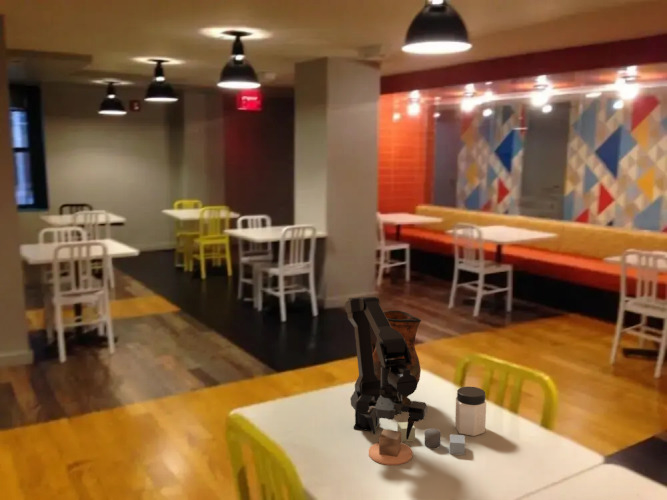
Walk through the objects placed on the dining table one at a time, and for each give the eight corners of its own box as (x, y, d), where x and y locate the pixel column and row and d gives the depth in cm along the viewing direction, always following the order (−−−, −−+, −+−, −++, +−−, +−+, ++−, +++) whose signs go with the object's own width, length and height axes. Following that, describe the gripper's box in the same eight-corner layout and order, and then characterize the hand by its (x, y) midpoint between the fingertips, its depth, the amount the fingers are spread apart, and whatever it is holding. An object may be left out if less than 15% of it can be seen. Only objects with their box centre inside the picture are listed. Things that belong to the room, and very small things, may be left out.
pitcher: (411, 416, 196) (413, 323, 191) (349, 405, 205) (349, 316, 200) (426, 397, 211) (428, 310, 206) (367, 388, 219) (368, 304, 215)
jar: (469, 438, 181) (470, 399, 179) (449, 428, 188) (450, 390, 186) (490, 431, 186) (492, 392, 184) (470, 421, 192) (472, 384, 190)
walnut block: (379, 454, 170) (379, 437, 170) (383, 446, 175) (383, 429, 174) (397, 457, 169) (397, 439, 168) (401, 448, 173) (401, 431, 173)
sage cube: (401, 441, 179) (401, 428, 179) (397, 435, 183) (397, 422, 183) (414, 440, 180) (415, 427, 180) (410, 434, 184) (410, 421, 183)
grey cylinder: (423, 447, 176) (423, 434, 175) (425, 440, 180) (426, 427, 179) (438, 449, 175) (439, 436, 174) (441, 442, 179) (441, 429, 178)
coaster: (363, 461, 168) (363, 458, 168) (374, 441, 180) (374, 438, 179) (407, 468, 165) (407, 465, 164) (416, 447, 176) (416, 444, 176)
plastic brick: (449, 454, 172) (449, 442, 172) (449, 445, 177) (449, 434, 176) (464, 455, 171) (464, 443, 171) (464, 447, 176) (464, 435, 176)
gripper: (349, 388, 164) (349, 444, 166) (420, 397, 158) (419, 455, 161) (361, 374, 174) (361, 427, 177) (427, 381, 169) (426, 436, 171)
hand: (390, 436), depth 171 cm, fingers open, 9 cm apart
